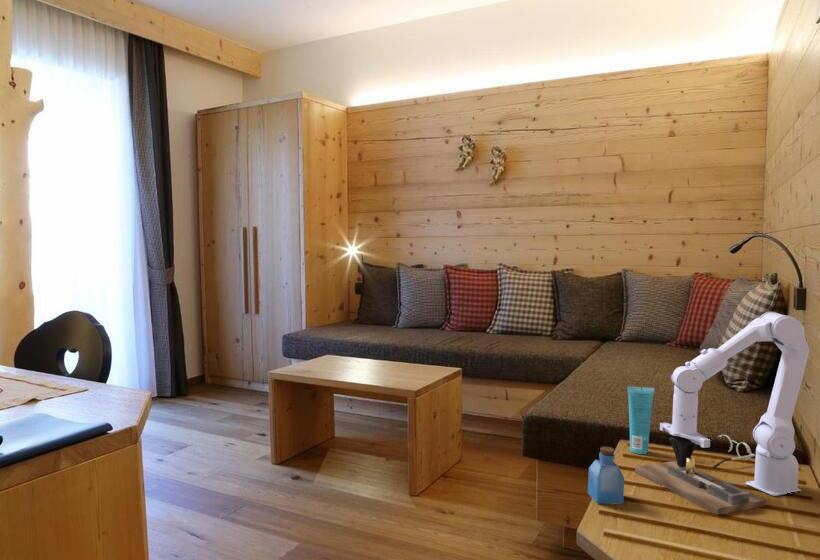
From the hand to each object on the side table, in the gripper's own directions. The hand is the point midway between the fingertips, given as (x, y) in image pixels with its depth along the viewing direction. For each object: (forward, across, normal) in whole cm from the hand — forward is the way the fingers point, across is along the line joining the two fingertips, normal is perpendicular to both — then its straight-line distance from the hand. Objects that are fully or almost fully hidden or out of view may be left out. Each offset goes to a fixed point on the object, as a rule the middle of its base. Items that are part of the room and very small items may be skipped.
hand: (682, 466), depth 149 cm
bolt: (+2, +6, 0) cm, 7 cm away
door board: (+4, +5, 0) cm, 6 cm away
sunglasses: (+5, -12, +23) cm, 26 cm away
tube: (+4, -21, +4) cm, 22 cm away
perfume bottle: (+4, +3, -26) cm, 26 cm away
